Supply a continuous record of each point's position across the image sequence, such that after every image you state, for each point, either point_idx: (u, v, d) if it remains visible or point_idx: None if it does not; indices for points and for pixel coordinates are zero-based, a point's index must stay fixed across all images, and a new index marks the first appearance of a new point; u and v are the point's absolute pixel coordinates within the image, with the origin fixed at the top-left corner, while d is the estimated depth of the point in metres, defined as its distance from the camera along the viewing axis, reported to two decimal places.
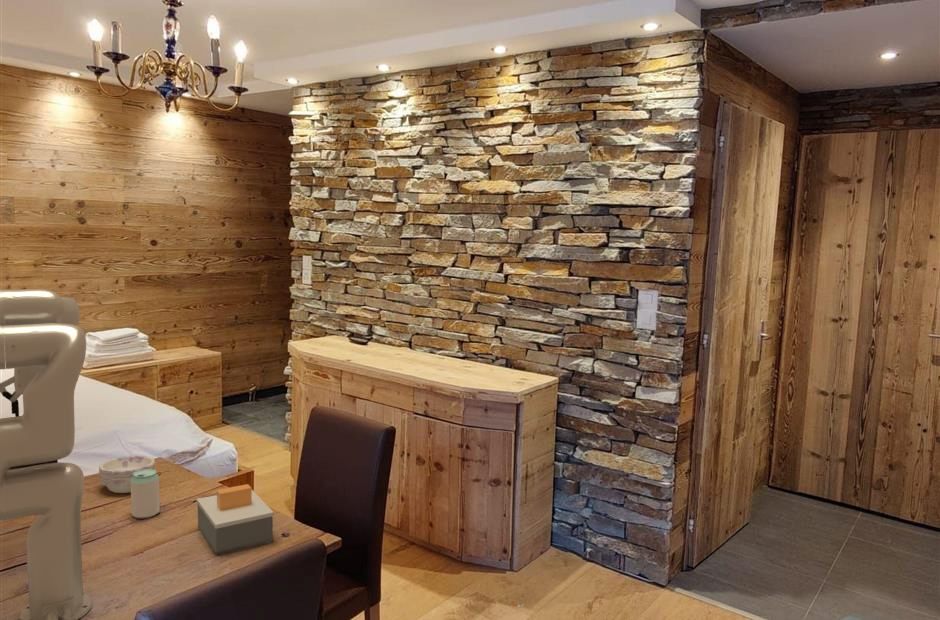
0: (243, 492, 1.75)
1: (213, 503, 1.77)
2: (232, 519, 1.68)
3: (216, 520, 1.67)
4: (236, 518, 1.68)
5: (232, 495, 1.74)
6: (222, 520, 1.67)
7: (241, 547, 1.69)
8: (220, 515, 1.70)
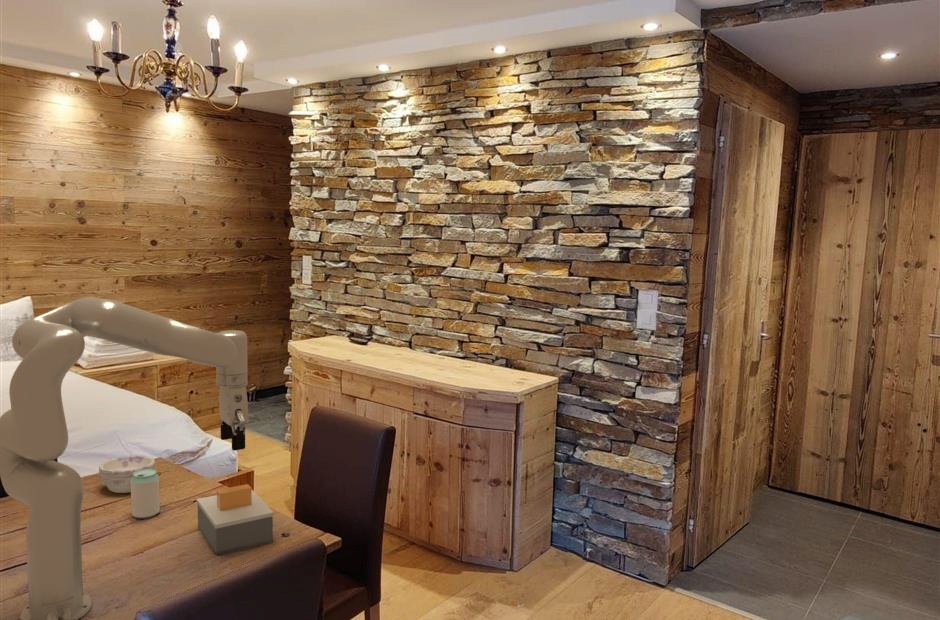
0: (243, 492, 1.75)
1: (213, 503, 1.77)
2: (232, 519, 1.68)
3: (216, 520, 1.67)
4: (236, 518, 1.68)
5: (232, 495, 1.74)
6: (222, 520, 1.67)
7: (241, 547, 1.69)
8: (220, 515, 1.70)
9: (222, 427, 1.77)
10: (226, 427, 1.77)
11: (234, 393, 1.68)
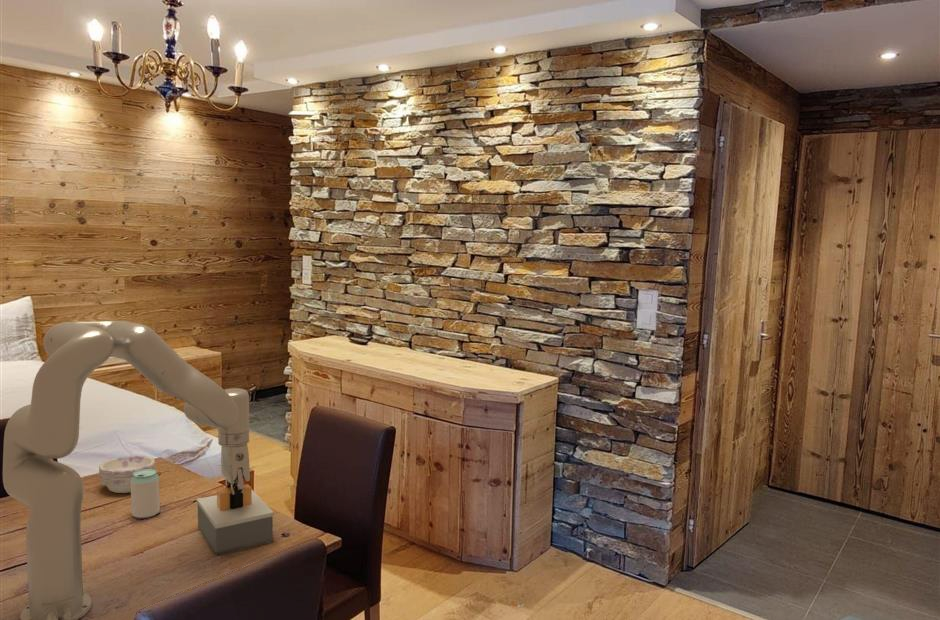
0: (243, 492, 1.75)
1: (213, 503, 1.77)
2: (232, 519, 1.68)
3: (216, 520, 1.67)
4: (236, 518, 1.68)
5: None
6: (222, 520, 1.67)
7: (241, 547, 1.69)
8: (220, 515, 1.70)
9: None
10: None
11: (236, 452, 1.70)
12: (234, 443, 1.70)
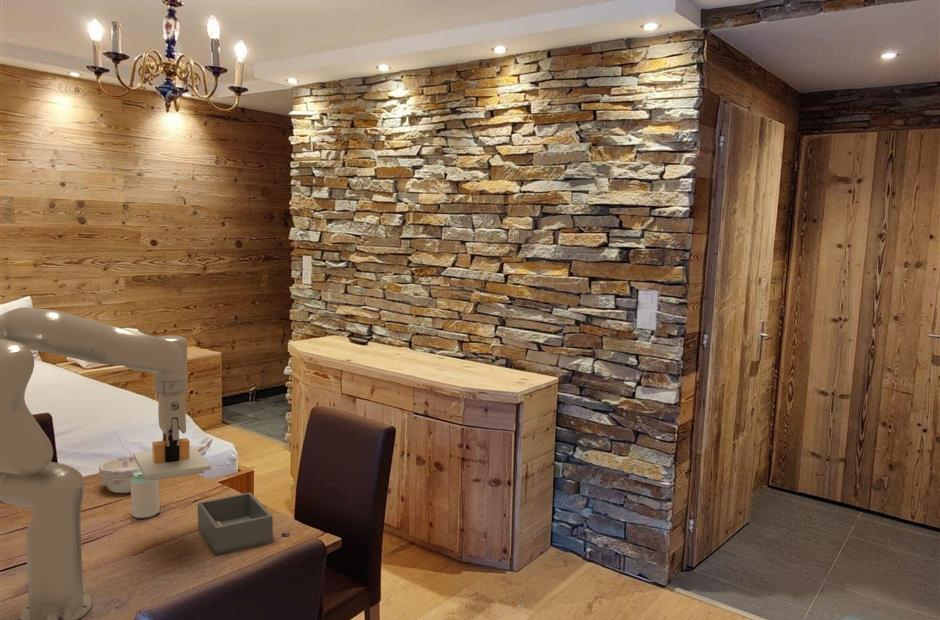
0: (180, 445, 1.67)
1: (150, 456, 1.69)
2: (164, 470, 1.59)
3: (147, 471, 1.58)
4: (169, 470, 1.60)
5: None
6: (153, 471, 1.58)
7: (241, 547, 1.69)
8: (153, 466, 1.62)
9: None
10: None
11: (170, 401, 1.62)
12: (169, 391, 1.62)
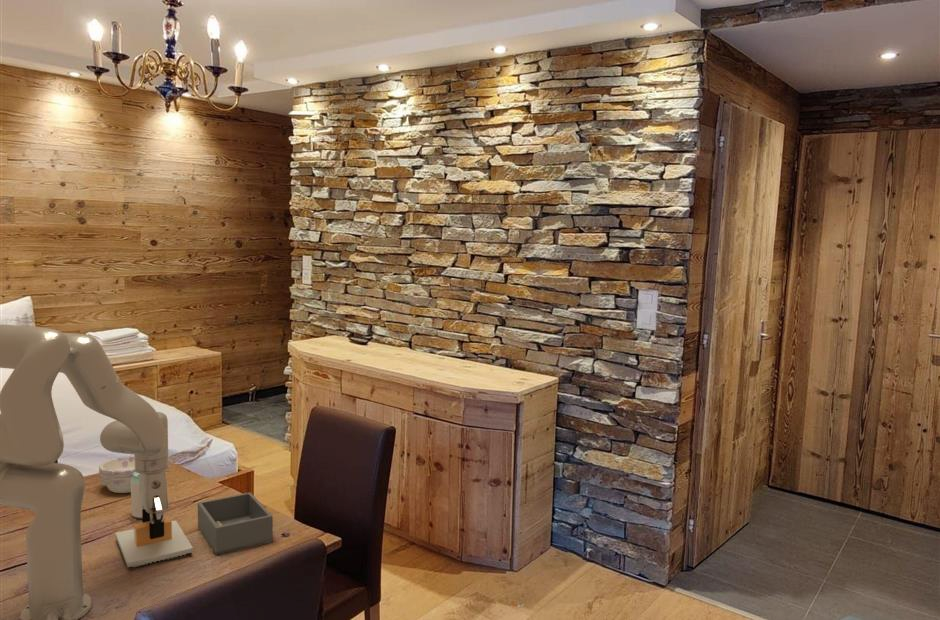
0: None
1: (132, 537, 1.69)
2: (147, 556, 1.60)
3: (129, 558, 1.59)
4: (151, 555, 1.61)
5: None
6: (136, 557, 1.59)
7: (241, 547, 1.69)
8: (135, 551, 1.62)
9: (143, 512, 1.70)
10: None
11: (152, 479, 1.62)
12: (150, 470, 1.62)
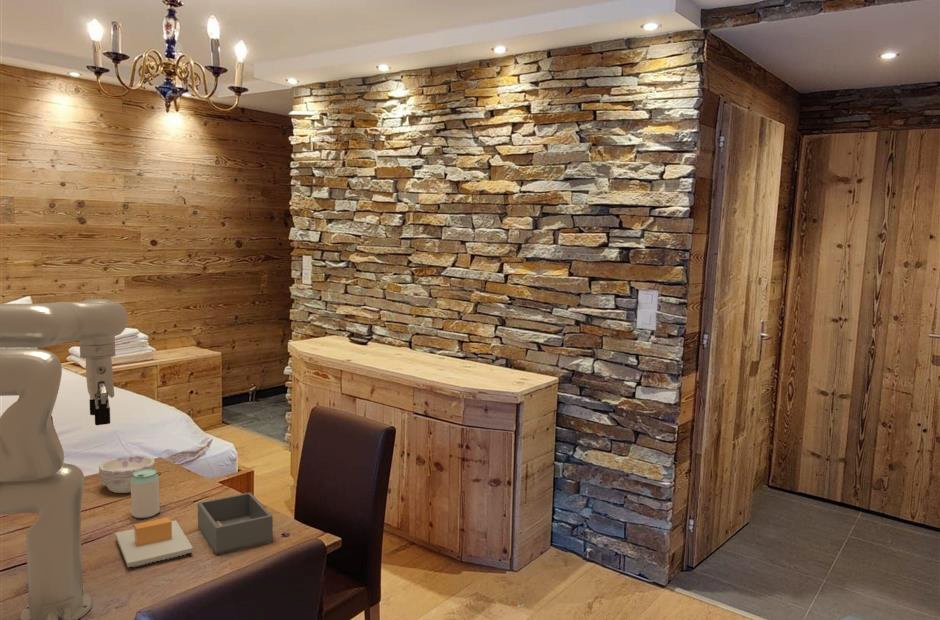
0: (162, 526, 1.68)
1: (132, 537, 1.69)
2: (147, 556, 1.60)
3: (129, 558, 1.59)
4: (151, 555, 1.61)
5: (149, 530, 1.66)
6: (136, 557, 1.59)
7: (241, 547, 1.69)
8: (135, 551, 1.62)
9: (91, 402, 1.68)
10: None
11: (96, 364, 1.60)
12: (95, 355, 1.60)
